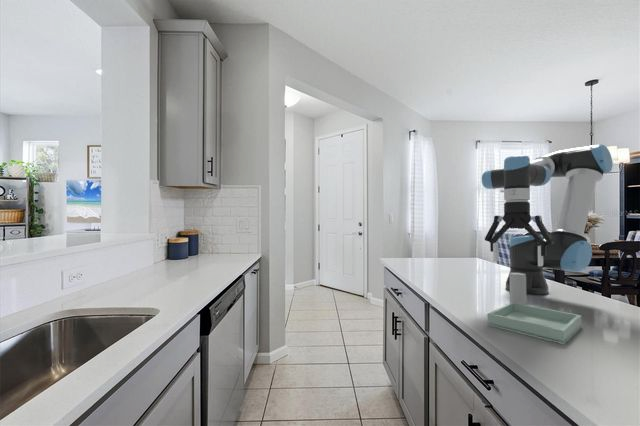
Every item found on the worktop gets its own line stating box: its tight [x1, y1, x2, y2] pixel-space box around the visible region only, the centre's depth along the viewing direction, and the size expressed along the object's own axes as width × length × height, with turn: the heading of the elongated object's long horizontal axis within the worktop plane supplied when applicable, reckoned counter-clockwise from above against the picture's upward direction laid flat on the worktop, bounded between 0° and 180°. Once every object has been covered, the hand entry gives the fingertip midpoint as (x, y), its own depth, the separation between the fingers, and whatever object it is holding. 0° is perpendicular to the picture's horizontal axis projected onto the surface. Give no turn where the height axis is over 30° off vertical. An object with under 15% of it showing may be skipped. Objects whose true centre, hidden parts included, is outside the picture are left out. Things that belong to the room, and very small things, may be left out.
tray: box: [487, 301, 582, 345], centre depth 90 cm, size 18×18×3 cm
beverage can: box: [509, 272, 527, 305], centre depth 107 cm, size 5×5×12 cm
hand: (517, 263), depth 107 cm, fingers open, 13 cm apart
